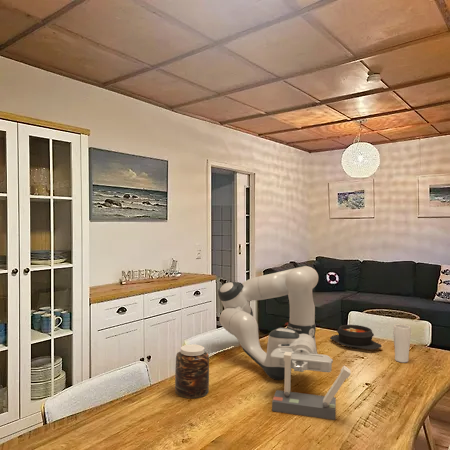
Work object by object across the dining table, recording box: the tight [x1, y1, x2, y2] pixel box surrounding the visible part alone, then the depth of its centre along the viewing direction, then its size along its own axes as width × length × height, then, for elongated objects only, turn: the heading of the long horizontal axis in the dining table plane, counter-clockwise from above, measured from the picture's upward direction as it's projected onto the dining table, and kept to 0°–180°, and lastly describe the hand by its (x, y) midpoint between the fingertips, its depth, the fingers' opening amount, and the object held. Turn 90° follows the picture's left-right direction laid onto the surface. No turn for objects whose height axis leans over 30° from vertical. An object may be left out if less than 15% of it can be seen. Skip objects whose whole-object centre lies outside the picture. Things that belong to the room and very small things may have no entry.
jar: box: [174, 343, 210, 399], centre depth 139 cm, size 12×12×15 cm
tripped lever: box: [283, 352, 292, 397], centre depth 130 cm, size 4×2×13 cm, turn 164°
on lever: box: [323, 365, 352, 407], centre depth 122 cm, size 4×2×13 cm
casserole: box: [329, 324, 382, 351], centre depth 195 cm, size 25×19×8 cm
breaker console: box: [271, 389, 337, 421], centre depth 127 cm, size 9×19×3 cm, turn 74°
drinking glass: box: [393, 323, 412, 364], centre depth 173 cm, size 7×7×15 cm
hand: (298, 369), depth 128 cm, fingers closed
